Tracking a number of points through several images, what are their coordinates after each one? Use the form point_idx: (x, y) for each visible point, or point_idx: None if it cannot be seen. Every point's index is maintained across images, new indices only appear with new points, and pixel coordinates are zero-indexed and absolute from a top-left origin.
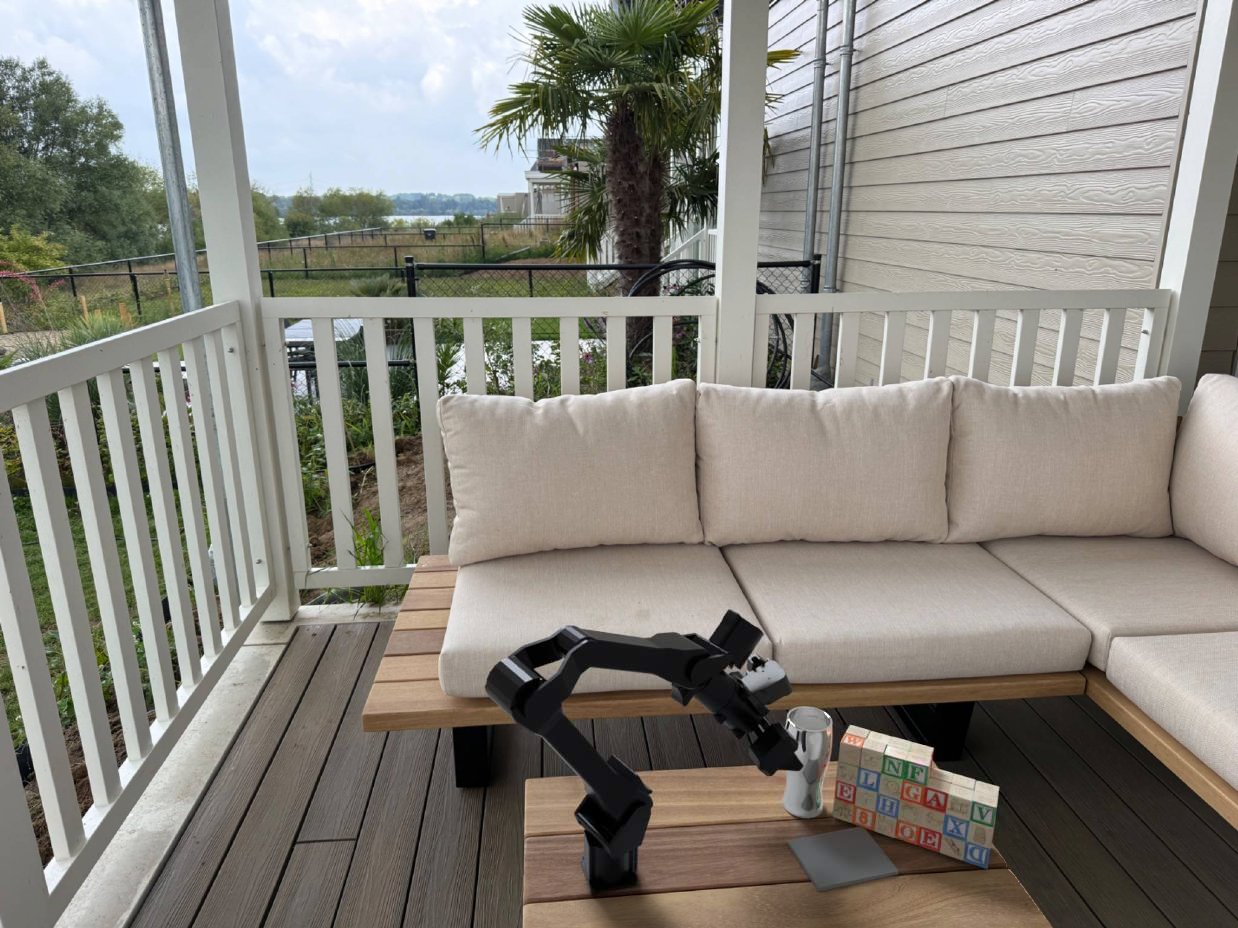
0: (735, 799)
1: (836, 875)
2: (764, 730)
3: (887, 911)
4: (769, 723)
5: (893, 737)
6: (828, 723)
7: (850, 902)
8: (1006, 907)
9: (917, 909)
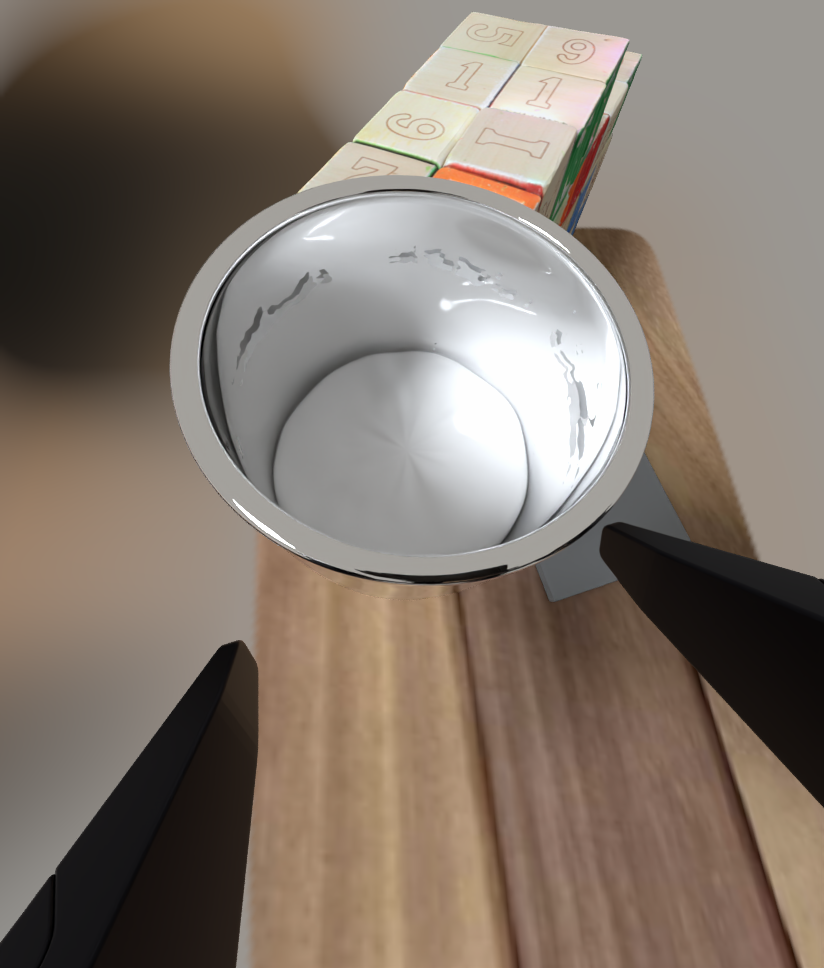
0: (372, 746)
1: (648, 503)
2: (251, 736)
3: (699, 428)
4: (220, 711)
5: (412, 84)
6: (377, 254)
7: (698, 492)
8: (634, 251)
9: (678, 376)
